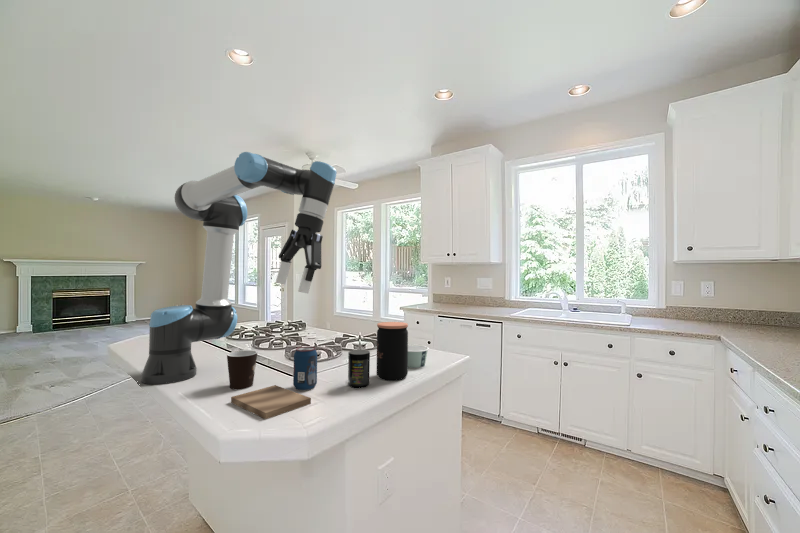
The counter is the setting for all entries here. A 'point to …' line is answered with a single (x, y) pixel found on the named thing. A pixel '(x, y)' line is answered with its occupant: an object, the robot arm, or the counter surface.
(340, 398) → the counter surface
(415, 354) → the food container
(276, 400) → the walnut board
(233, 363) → the coffee mug
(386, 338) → the coffee jar
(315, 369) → the soda can
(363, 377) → the supplement container
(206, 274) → the robot arm
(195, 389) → the counter surface
